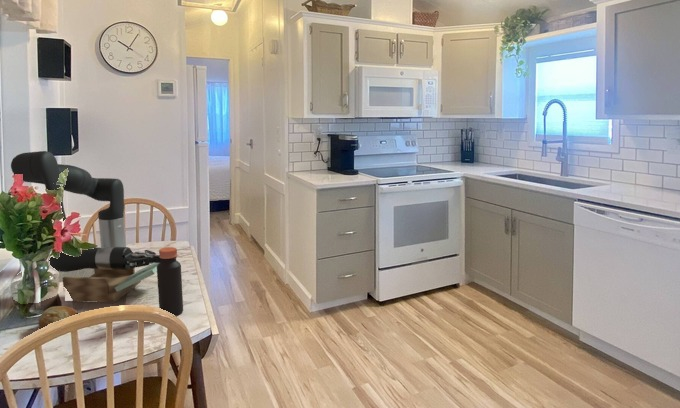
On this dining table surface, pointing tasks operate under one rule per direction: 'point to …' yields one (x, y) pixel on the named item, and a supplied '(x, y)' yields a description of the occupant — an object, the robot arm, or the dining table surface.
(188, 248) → the dining table surface
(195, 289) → the dining table surface
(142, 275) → the green box lid
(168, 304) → the bottle
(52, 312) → the bread roll
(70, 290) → the wood grain box
